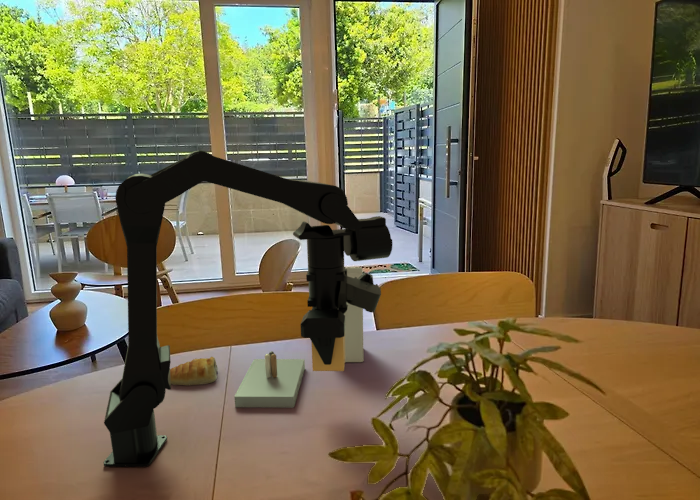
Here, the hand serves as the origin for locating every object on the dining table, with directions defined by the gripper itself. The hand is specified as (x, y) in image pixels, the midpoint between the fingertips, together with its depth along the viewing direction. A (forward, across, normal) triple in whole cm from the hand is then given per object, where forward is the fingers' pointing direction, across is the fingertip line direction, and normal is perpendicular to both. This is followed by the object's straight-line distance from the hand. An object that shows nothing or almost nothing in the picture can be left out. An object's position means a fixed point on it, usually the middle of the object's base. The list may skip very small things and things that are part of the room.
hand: (329, 356), depth 75 cm
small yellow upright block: (+1, 0, 0) cm, 1 cm away
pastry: (+10, +10, +27) cm, 30 cm away
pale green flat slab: (+9, +7, +11) cm, 16 cm away
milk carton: (+10, +20, -2) cm, 22 cm away
